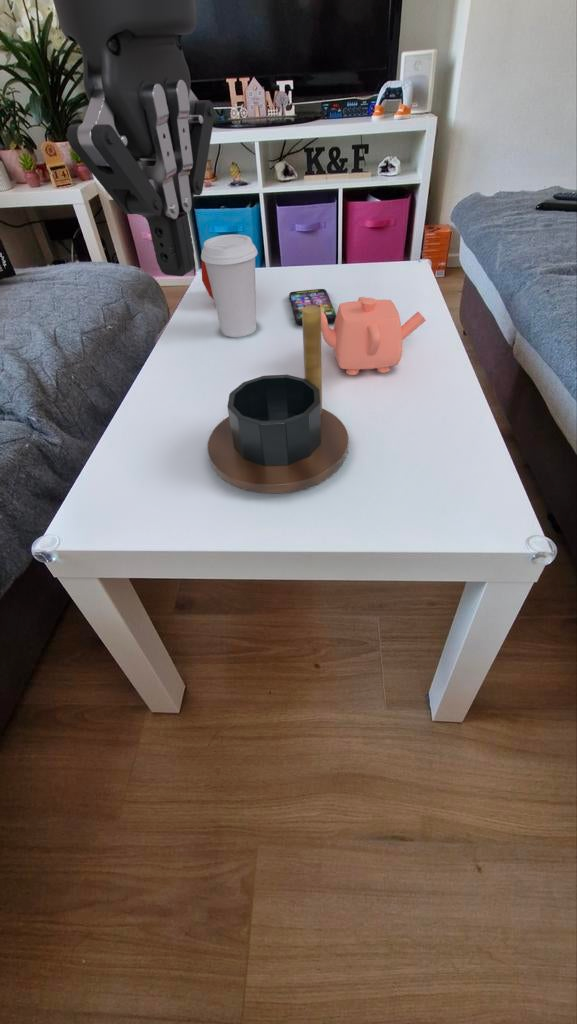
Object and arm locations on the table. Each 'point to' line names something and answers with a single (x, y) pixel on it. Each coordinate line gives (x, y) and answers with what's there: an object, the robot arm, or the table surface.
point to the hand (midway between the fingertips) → (178, 272)
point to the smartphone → (311, 303)
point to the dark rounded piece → (281, 427)
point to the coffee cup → (232, 282)
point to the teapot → (368, 334)
